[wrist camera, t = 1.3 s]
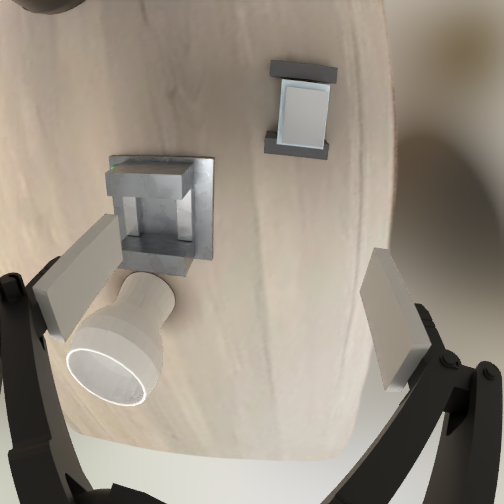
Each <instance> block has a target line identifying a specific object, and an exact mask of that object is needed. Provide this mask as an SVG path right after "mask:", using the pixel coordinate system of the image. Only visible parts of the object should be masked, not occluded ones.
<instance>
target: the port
mask: <svg viewBox="0 0 504 504" xmlns="http://www.w3.org/2000/svg"><path fill="white" fill-rule="evenodd" d="M109 163H110V170H109V171H108V172H106V173H105V177H106V187H107V196H113V205H114V214H115V215H118V221H119V231H120V240H121V248H122V256H123V261H122V262H121V263H120V265H119V266H118V268H121V269H129V270H136V271H144V272H152V273H159V274H168V275H176V276H184V277H185V276H186V274H187V272H188V269H189V267H190V265H191V263H192V261H193V259H203V260H212V259H213V186H214V158H203V157H180V156H110V157H109Z"/></svg>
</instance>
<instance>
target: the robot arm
mask: <svg viewBox="0 0 504 504" xmlns="http://www.w3.org/2000/svg"><path fill="white" fill-rule="evenodd" d="M12 1H14V2H15V3H17V4H18V5H20V6H22V7H23V8H24V9H25V10H27V11H30V12H33V13H39V14H58V13H61V12H64V11H67V10H69V9H71V8H74V7H75V6H77V5H79V4H80V3H82V2H83V1H85V0H12ZM122 261H123V256H122V248H121V240H120V231H119V221H118V215H111V214H105V215H104V216H103V217H102V218H101V219H100V220H98V221H97V222H96V223H95V224H94V225H93V226H92V227H91V228H90V229H89V230H88V231H87V232H86V233H85V234H84V235H83V236H82V237H81V238H79V239H78V240H77V241H76V242H75V243H74V244H73V245H72V246H71V247H70V248H69V249H68V250H67V251H66V252H65V253H64V254H63V255H62V256H58V257H56V258H54V259H53V260H51V261H49V262H48V264H47V265H46V266H45V267H44V269H42V270H41V271H40V272H39V274H37V275H36V276H35V277H34V278H33V279H32V280H31V281H30V282H29V283H28V285H27V286H26V287H25V286H24V283H23V280H22V277H21V275H20V274H18V273H8V274H6V275H3V276H2V277H0V392H1V385H2V379H3V384H4V393H5V401H6V409H7V416H8V422H9V428H10V433H11V438H12V443H13V449H12V450H9V452H8V458H9V464H10V469H11V473H12V477H13V480H14V484H15V487H16V491H17V494H18V498H19V501H20V504H166V503H164V502H162V501H160V500H158V499H156V498H154V497H152V496H150V495H148V494H146V493H144V492H140V491H137V490H134V489H130V488H127V487H124V486H121V485H118V484H114V483H113V485H112V488H111V489H97V490H93V488H92V486H91V484H90V483H89V481H88V480H87V478H86V476H85V475H84V473H83V471H82V469H81V466H80V463H79V461H78V458H77V455H76V453H75V450H74V448H73V444H72V441H71V438H70V436H69V432H68V430H67V426H66V423H65V420H64V416H63V413H62V410H61V406H60V402H59V399H58V395H57V391H56V387H55V383H54V379H53V375H52V370H51V366H50V361H49V356H48V351H47V346H46V340H45V338H44V336H43V334H44V333H45V331H46V330H47V329H48V332H49V334H50V337H51V339H54V340H57V341H60V342H63V343H65V342H66V341H67V339H68V338H69V336H70V334H71V333H72V331H73V330H74V328H75V327H76V325H77V324H78V322H79V321H80V319H81V318H82V316H83V315H84V314H85V312H86V311H87V309H88V308H89V306H90V305H91V303H92V302H93V301H94V299H95V298H96V296H97V295H98V293H99V292H100V291H101V289H102V288H103V286H104V285H105V284H106V282H107V281H108V280H109V278H110V277H111V275H112V274H113V273H114V271H115V270H116V269H117V267H118V266H119V265H120V263H121V262H122ZM360 295H361V298H362V302H363V305H364V309H365V312H366V316H367V320H368V323H369V327H370V331H371V335H372V339H373V343H374V347H375V351H376V355H377V359H378V363H379V367H380V371H381V376H382V381H383V385H384V389H385V391H402V390H403V388H404V387H405V385H406V384H407V382H408V385H409V388H410V391H409V392H408V393H407V395H406V396H405V397H404V399H403V400H402V401H401V403H400V404H399V407H398V408H397V410H396V411H395V413H394V414H393V416H392V417H391V419H390V420H389V421H388V423H387V424H386V426H385V427H384V428H383V430H382V431H381V433H380V434H379V435H378V437H377V438H376V439H375V441H374V442H373V443H372V444H371V446H370V447H369V448H368V450H367V451H366V452H365V453H364V455H363V456H362V458H360V460H359V461H358V462H357V463H356V465H355V466H354V467H353V468H352V470H351V471H350V472H349V473H348V474H347V475H346V476H345V478H344V479H343V480H342V481H341V482H340V483H339V484H338V486H337V487H336V488H335V489H334V490H333V491H332V492H331V493H330V494H329V495H328V496H327V497H326V499H325V500H324V501H323V502H322V503H321V504H388V503H389V501H390V500H391V498H392V497H393V496H394V494H395V493H396V491H397V489H398V488H399V487H400V485H401V484H402V482H403V481H404V479H405V478H406V476H407V474H408V473H409V471H410V470H411V468H412V467H413V465H414V463H415V462H416V460H417V458H418V457H419V455H420V453H421V451H422V450H423V448H424V446H425V444H426V442H427V441H428V439H429V437H430V435H431V433H432V431H433V430H434V428H435V426H436V424H437V422H438V420H439V418H440V416H441V414H442V412H443V411H444V412H445V416H444V421H443V427H442V432H441V437H440V441H439V446H438V450H437V455H436V459H435V463H434V467H433V470H432V474H431V478H430V481H429V485H428V488H427V491H426V495H425V498H424V501H423V504H494V499H495V492H496V487H497V480H498V472H499V462H500V452H501V438H502V376H501V372H500V371H499V369H498V368H497V367H496V366H495V365H494V364H492V363H491V362H488V361H483V362H480V363H479V364H478V366H477V367H476V368H475V369H474V368H471V367H467V366H464V365H462V364H461V361H460V359H459V358H458V357H457V355H455V354H454V353H453V352H451V351H449V350H446V349H445V347H444V345H443V342H442V340H441V338H440V335H439V333H438V331H437V329H436V328H435V324H434V322H433V321H432V318H431V316H430V314H429V312H428V311H427V310H426V309H425V307H424V306H423V305H422V304H416V303H413V301H412V298H411V296H410V294H409V292H408V290H407V288H406V285H405V283H404V281H403V279H402V278H401V275H400V273H399V271H398V269H397V267H396V265H395V263H394V261H393V259H392V257H391V255H390V253H389V251H388V249H381V248H374V249H373V252H372V255H371V259H370V262H369V265H368V268H367V271H366V274H365V277H364V280H363V283H362V286H361V289H360Z"/></svg>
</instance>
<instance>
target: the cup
mask: <svg viewBox="0 0 504 504" xmlns="http://www.w3.org/2000/svg"><path fill="white" fill-rule="evenodd" d="M174 306H175V297H174V294H173V291H172V290H171V288H170V287H169V285H168V284H167V283H166V282H164V281H163V280H162V279H161V278H159V277H157V276H155V275H153V274H150V273H146V272H136V273H133V274H130V275H129V276H128V277H127V278H126V279H125V281H124V283H123V285H122V287H121V289H120V292H119V294H118V297H117V299H116V300H115V301H114V302H113V303H112V304H111V305H109V306H106V307H104V308H101V309H99V310H97V311H96V312H94V313H93V314H91V315H90V316H89V317H87V318H86V319H85V320H84V321H83V322H82V323H81V324H80V326H79V327H78V329H77V330H76V332H75V333H74V335H73V338H72V341H71V344H70V347H69V351H68V354H67V357H66V361H67V366H68V368H69V370H70V373H71V374H72V375H73V377H74V378H75V379H76V380H77V381H78V382H79V383H80V384H81V385H82V386H83V387H84V388H85V389H87V390H88V391H89V392H91V393H92V394H94V395H96V396H97V397H99V398H101V399H103V400H106V401H108V402H111V403H114V404H117V405H123V406H135V405H138V404H141V403H142V402H143V401H144V400H145V399H146V398H147V396H148V395H149V394H150V392H151V391H152V389H153V388H154V387H155V385H156V384H157V381H158V378H159V376H160V373H161V370H162V366H163V343H162V338H161V334H160V333H161V329H162V325H163V323H164V322H165V320H166V319H167V318H168V316H169V315H170V314H171V312H172V310H173V309H174Z"/></svg>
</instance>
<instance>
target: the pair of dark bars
mask: <svg viewBox="0 0 504 504" xmlns="http://www.w3.org/2000/svg"><path fill="white" fill-rule="evenodd" d="M337 70H338V68H335V67H328V66H322V65H314V64H306V63H298V62H288V61H277V60H271V67H270V76H271V77H283V78H293V79H302V80H310V81H318V82H325V83H336V81H337ZM277 135H278V132H271V131H267V134H266V137H265V147H264V153H268V154H278V155H288V156H297V157H306V158H314V159H322V160H327V157H328V150H329V144H328V143H327V141H326V140H325V139H324V145H323V149H316V148H308V147H300V146H291V145H281V144H277Z"/></svg>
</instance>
